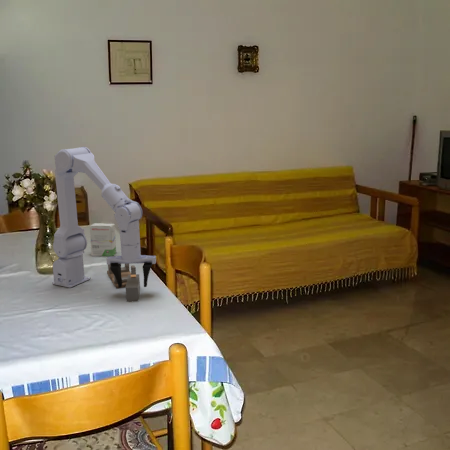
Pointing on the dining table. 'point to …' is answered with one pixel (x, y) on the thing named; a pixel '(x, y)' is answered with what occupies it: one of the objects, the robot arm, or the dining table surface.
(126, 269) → the cradle
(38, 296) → the dining table surface
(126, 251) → the robot arm
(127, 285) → the grey rectangular block
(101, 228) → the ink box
